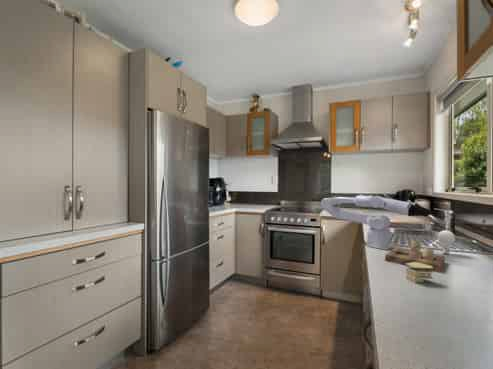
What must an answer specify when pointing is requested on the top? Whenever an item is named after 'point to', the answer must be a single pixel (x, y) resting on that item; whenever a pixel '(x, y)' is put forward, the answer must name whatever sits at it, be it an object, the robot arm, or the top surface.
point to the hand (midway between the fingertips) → (430, 213)
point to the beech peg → (415, 245)
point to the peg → (428, 254)
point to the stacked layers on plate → (418, 272)
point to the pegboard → (413, 258)
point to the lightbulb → (446, 240)
